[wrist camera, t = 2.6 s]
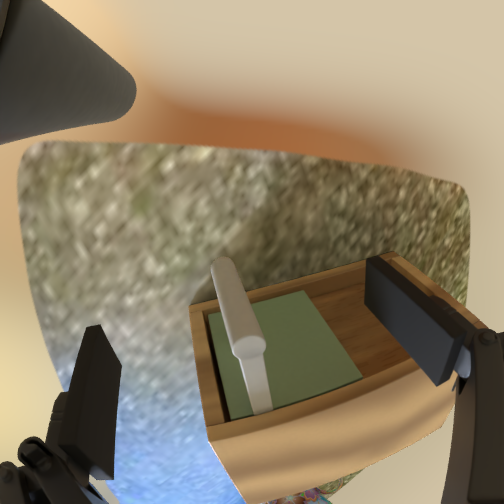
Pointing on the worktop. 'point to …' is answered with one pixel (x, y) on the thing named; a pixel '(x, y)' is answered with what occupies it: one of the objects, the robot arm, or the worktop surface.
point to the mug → (307, 496)
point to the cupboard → (330, 404)
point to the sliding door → (273, 348)
